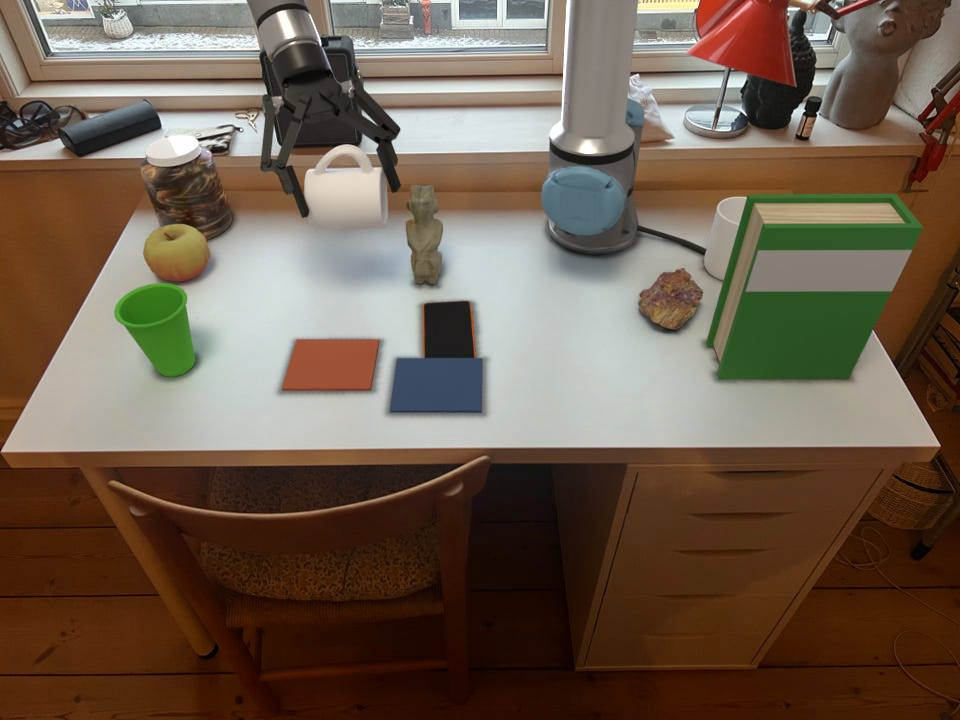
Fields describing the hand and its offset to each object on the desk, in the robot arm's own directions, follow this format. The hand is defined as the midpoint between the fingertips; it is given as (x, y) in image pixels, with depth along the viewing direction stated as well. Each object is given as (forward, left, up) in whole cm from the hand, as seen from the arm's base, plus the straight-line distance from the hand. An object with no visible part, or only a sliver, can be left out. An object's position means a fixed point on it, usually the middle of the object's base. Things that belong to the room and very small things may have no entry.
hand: (352, 201), depth 97 cm
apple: (+31, -8, -18) cm, 37 cm away
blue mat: (-12, +18, -17) cm, 28 cm away
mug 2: (-58, -7, -18) cm, 61 cm away
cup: (+25, +14, -18) cm, 34 cm away
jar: (+33, -22, -18) cm, 43 cm away
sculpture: (-9, -7, -18) cm, 21 cm away
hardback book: (-59, +13, -18) cm, 63 cm away
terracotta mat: (+3, +14, -17) cm, 23 cm away
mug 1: (+1, -2, -5) cm, 6 cm away
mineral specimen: (-46, +2, -18) cm, 49 cm away
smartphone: (-13, +9, -18) cm, 24 cm away
